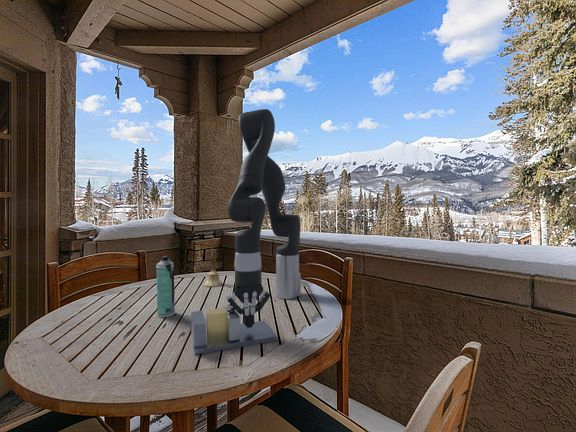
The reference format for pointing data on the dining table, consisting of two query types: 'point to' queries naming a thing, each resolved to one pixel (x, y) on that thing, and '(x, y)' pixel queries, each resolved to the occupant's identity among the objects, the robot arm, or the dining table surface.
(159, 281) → the spray can
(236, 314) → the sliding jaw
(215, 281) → the hand bell
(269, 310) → the dining table surface
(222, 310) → the block
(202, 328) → the vise
